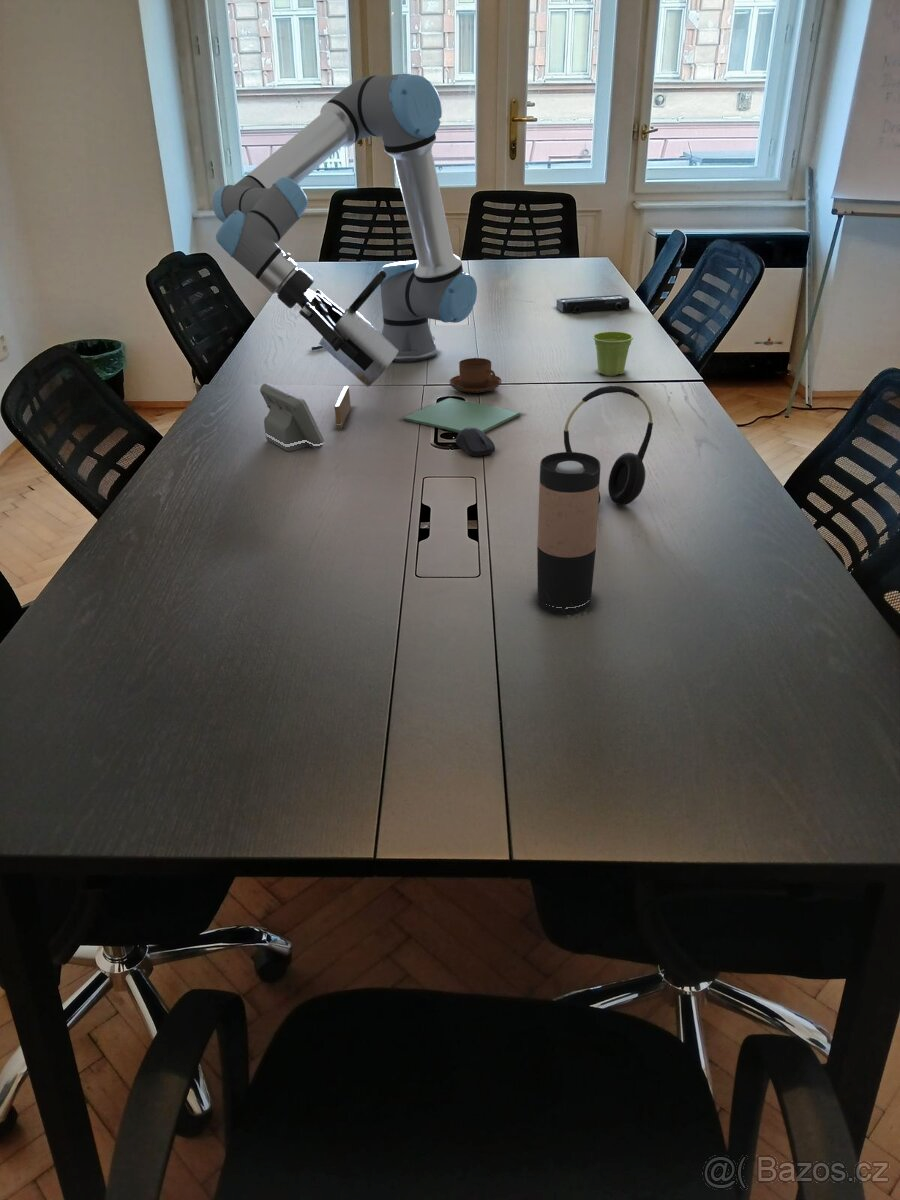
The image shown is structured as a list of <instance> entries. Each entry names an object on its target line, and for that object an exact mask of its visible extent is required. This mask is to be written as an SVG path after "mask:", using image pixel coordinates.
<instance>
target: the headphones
mask: <svg viewBox="0 0 900 1200" xmlns="http://www.w3.org/2000/svg"><path fill="white" fill-rule="evenodd" d="M617 393H622V394H626V395H629V396H632V397H634V398H637V399H638V400H639V402H641V403H642V404H643V406H644V408H645V409H646V411H647V414H648V422H647V425H646V431H645V435H644V437H643V440H642V442H641V444H640V447H639V450H638V452H637V453H634V452H624V453H623V454H621V455H619V456H618V458H616V460H615V461H614V463H613V465H612V466H611V470H610V472H609V476H608V482H607V489H608V491H607V492H608V495H609V497H610V499H611V501H613V503H614V504H616V505H619V506H627V505H629V504H630V503H632V502H633V501H635V500H636V498H638V497H639V496H640V494H641V493H642V491H643V489H644V485H645V482H646V468H645V465H644V462H643V461H644V458H645V455H646V452H647V449H648V447H649V443H650V441H651V437H652V434H653V433H652V432H653V431H652V430H653V426H654V422H653V421H654V420H653V415H652V411H651V408H650V407H649V405H648V403H647V402H646V401H645V399H643V398H642V396H640V394H639V393H638V392H637V391H635V390H634V389H631V388H629V387H626V386H622V385H605V386H601V387H598V388H596V389H594V390H592V391H590V392H588V393H587V394H586V395H585V396H583V398H581V400H580V402H578V403H577V404H576V405H575V407H573V409H572V410H571V412H570V413H569V414H568V417H567V419H566V421H565V425H564V429H563V444H564V450H565V452H573V450H572V446H571V443H570V431H569V425H570V422H571V420H572V418H573V416H574V414H575V413H576V412H577V411H578V409H579V408H580V407H581V406H582V405H584V404H585V403H587V402H588V401H590V400H592V399H594V398H596V397H599V396H602V395H605V394H617ZM600 503H601V493H600V491H599V502H598V506H599V505H600Z"/></svg>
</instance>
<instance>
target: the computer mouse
mask: <svg viewBox="0 0 900 1200" xmlns="http://www.w3.org/2000/svg"><path fill="white" fill-rule="evenodd" d="M455 445H456V446H458V447H459V448H460V449H461V450H463V452H465V453H466V454H468V455H469V456H471V457H482V456H488V455H490V454H492V453H494V452H495V451H496V445H495V443H494V441H493V440H492V439H491V437H489V436H488V435H487V434H486V432H485V433H483V432H482V431H481V430H479V429H477V428H475V427H467V428H464V429H463V430H461V431H460V432H459V433H458V434H457V436H456V438H455Z"/></svg>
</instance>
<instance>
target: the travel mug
mask: <svg viewBox="0 0 900 1200" xmlns="http://www.w3.org/2000/svg"><path fill="white" fill-rule="evenodd" d="M600 481H601V461H600V460H599V459H598V458H597V457H595V456H593V455H591V454H587V453H583V452H577V451H572V452H566V451H562V452H555V453H551V454H548V455H546V456H544V457H542V459H541V460H540V463H539V483H538V484H539V489H538V491H539V492H538V510H537V511H538V513H537V514H538V515H537V541H536V551H537V552H536V559H537V560H536V561H537V562H536V563H537V565H536V566H537V571H536V572H537V602H538V604H539V606H540V607H541V608H542V609H543V610H545V611H547V612H548V613H552V614H557V615H575V614H578V613H582V612H584V611H585V610H586V609H588V608H589V607H590V605H591V601H592V592H593V581H594V571H595V563H596V554H597V553H596V552H597V539H598V538H597V537H598V521H599V519H598V518H599V505H598V502H599V492H600ZM590 598H591V599H590ZM588 600H590V601H589V602H588V603H586V602H587V601H588ZM584 603H586V604H585V605H583V606H580V607H576V608H568V609H565V608H566V607H575V606H579V605H582V604H584ZM546 604H547V605H546ZM549 605H550V606H549ZM552 606H554V607H552ZM556 607H562V608H556Z"/></svg>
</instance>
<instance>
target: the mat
mask: <svg viewBox="0 0 900 1200" xmlns="http://www.w3.org/2000/svg"><path fill="white" fill-rule="evenodd" d="M520 415H521V412H520V411H515V410H511V409H506V408H501V407H496V406H492V405H486V404H481V403H477V402H472V401H468V400H467V401H466V400H462V399H458V398H454V397H453V398H452V397H448V398H445V399H442V400H441V401H438V402H436V403H433V404H431V405H429V406H427V407H424V408H422V409H420V410H418V411H415V412H412V413H410V414H408V415H406V416H403V421H407V422H411V423H415V424H420V425H425V426H429V427H432V428H438V429H442V430H444V431H445V430H446V431H450V432H455V433H458V434H459V432H460V431H461V430H463V429H464V428H467V427H475V428H477V429H479V430H481V431H482V432H483V433H485V434H486V432H489V431H491V430H493V429H495V428H497V427H499V426H501V425H503V424H505V423H507V422H509V421H511V420H513V419H514V418H517V417H519V416H520Z"/></svg>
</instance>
